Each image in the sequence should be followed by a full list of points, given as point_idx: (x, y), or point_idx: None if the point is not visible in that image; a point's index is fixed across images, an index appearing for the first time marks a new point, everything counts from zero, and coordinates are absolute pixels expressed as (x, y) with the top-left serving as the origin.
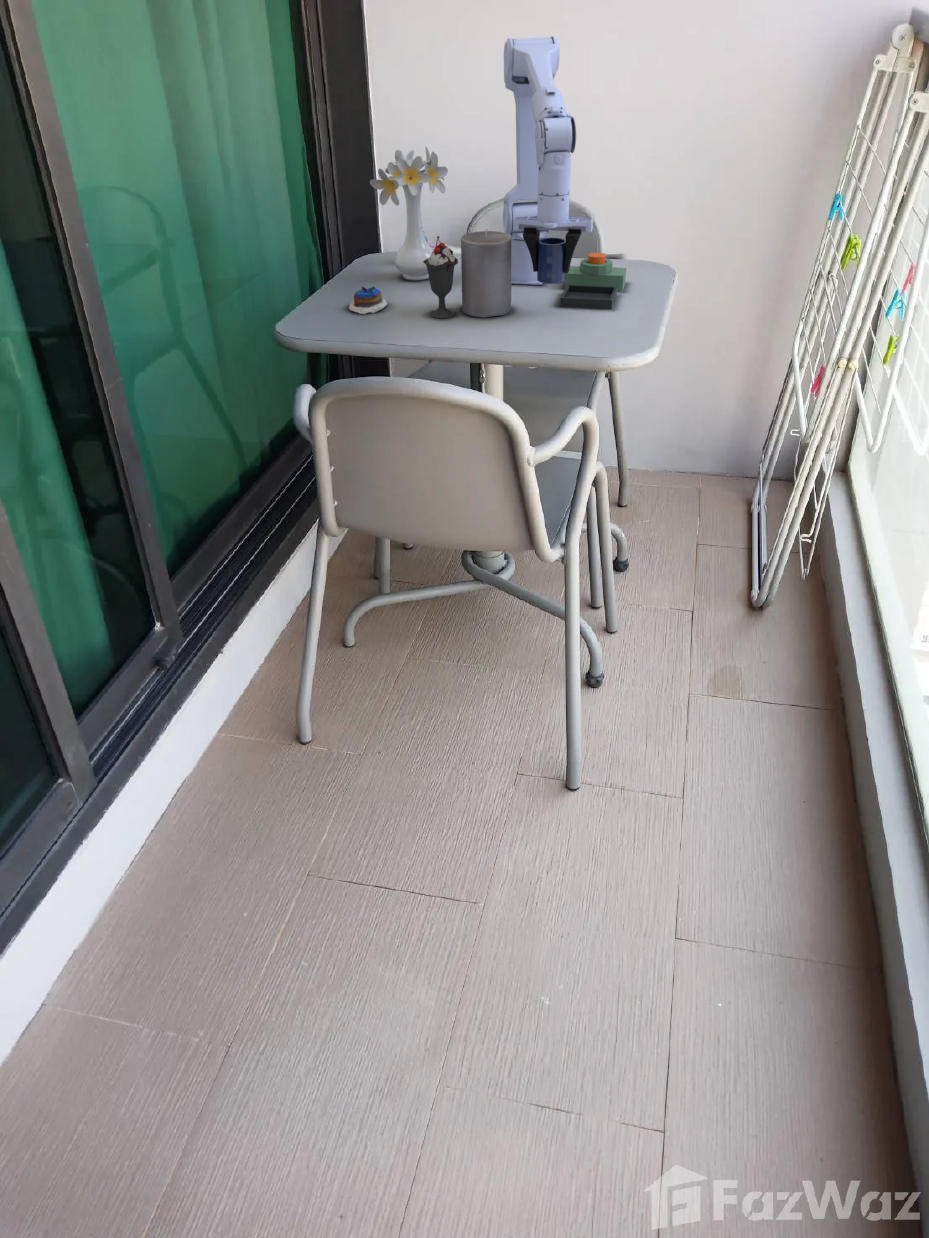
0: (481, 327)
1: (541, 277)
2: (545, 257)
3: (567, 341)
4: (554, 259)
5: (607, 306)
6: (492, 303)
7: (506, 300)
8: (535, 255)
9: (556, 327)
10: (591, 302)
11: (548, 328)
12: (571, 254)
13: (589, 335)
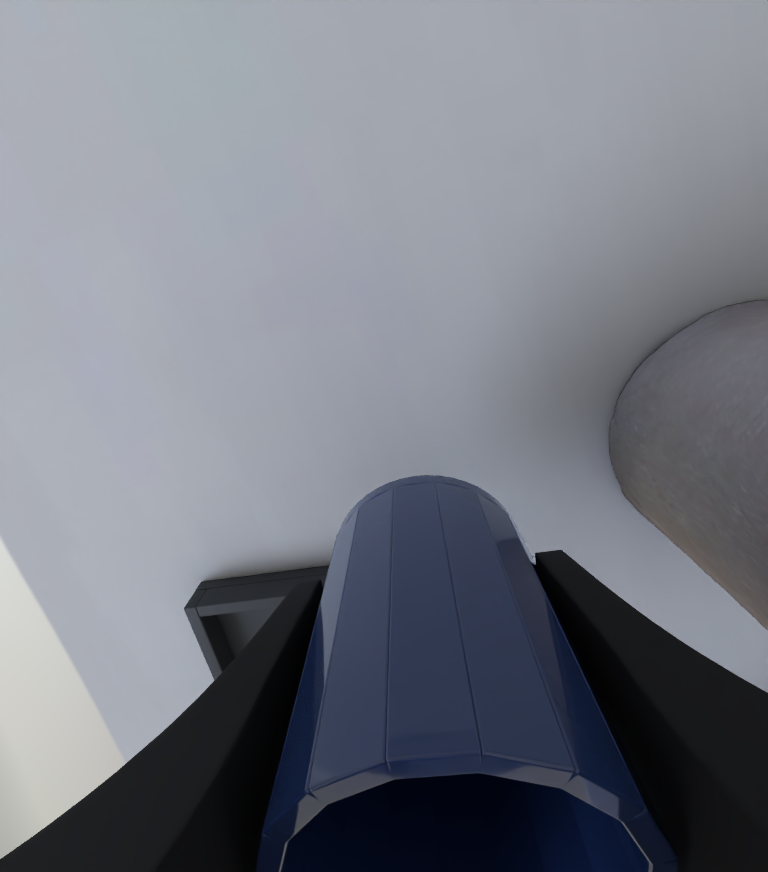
0: (717, 138)
1: (477, 499)
2: (471, 601)
3: (177, 74)
4: (369, 603)
5: (212, 587)
6: (734, 332)
7: (655, 417)
8: (607, 637)
9: (321, 290)
10: (272, 589)
11: (353, 260)
12: (197, 699)
13: (124, 226)
